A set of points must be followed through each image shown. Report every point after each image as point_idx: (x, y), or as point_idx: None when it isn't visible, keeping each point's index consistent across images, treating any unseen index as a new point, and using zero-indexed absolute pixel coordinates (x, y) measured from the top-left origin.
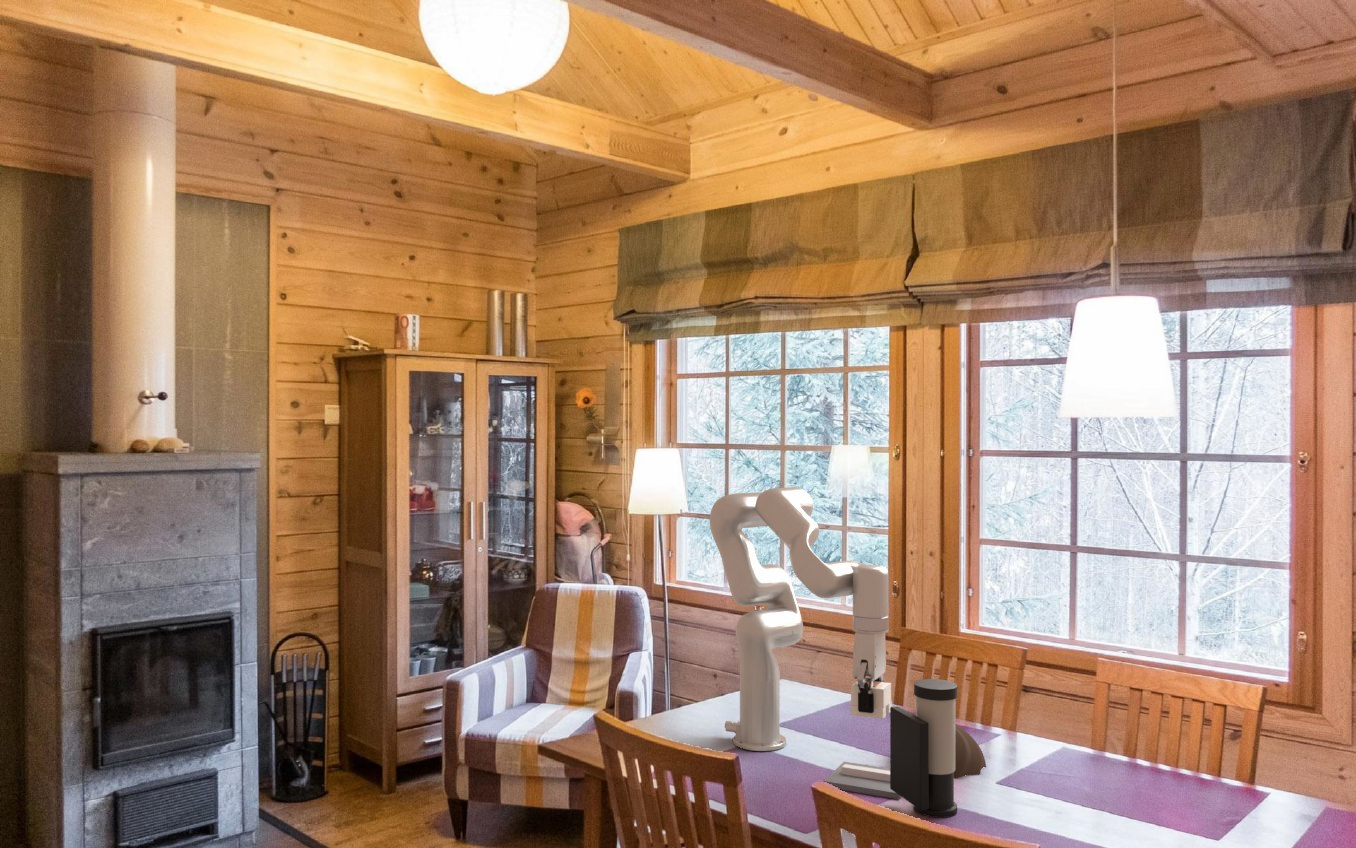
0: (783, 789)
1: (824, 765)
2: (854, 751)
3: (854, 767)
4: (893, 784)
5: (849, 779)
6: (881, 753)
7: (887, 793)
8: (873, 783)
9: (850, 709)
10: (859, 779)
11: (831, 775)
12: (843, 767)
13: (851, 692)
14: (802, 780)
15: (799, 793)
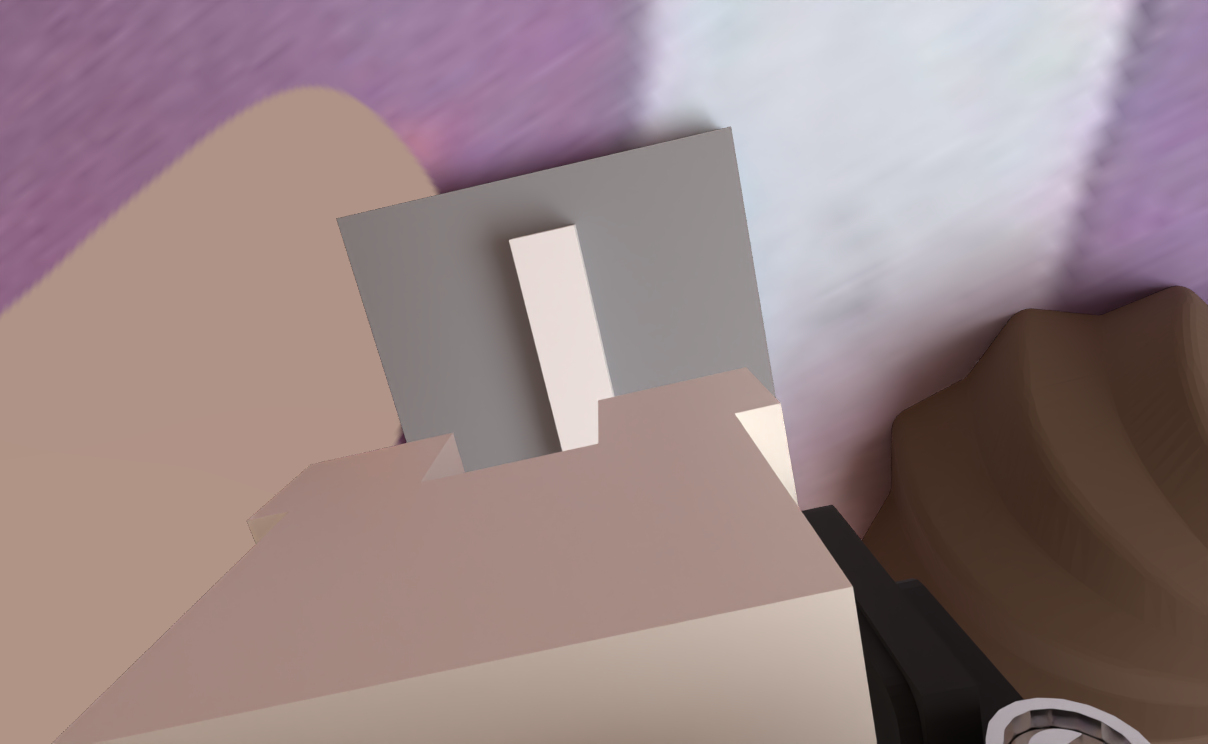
0: (142, 45)
1: (679, 6)
2: (1055, 16)
3: (553, 308)
4: None
5: (462, 322)
6: (1103, 183)
7: None
8: (496, 453)
9: (280, 496)
10: (500, 366)
11: (449, 202)
12: (512, 251)
13: (165, 645)
14: (350, 50)
15: (164, 161)
